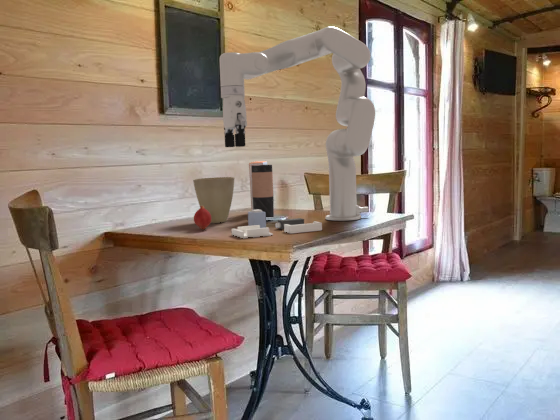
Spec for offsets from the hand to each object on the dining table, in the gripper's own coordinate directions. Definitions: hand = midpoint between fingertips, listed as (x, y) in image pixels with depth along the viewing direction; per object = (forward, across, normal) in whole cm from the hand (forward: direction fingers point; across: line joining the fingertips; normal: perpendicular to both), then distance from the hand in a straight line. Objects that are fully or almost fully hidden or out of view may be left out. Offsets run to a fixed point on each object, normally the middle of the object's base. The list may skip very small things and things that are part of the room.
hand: (235, 146), depth 186 cm
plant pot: (+27, +24, 0) cm, 36 cm away
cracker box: (+27, +37, -23) cm, 51 cm away
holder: (+27, -16, +1) cm, 31 cm away
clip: (+27, -17, -15) cm, 35 cm away
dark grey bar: (+27, -8, -15) cm, 32 cm away
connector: (+27, -6, -4) cm, 28 cm away
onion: (+27, +6, +10) cm, 30 cm away
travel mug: (+27, +17, -16) cm, 35 cm away
